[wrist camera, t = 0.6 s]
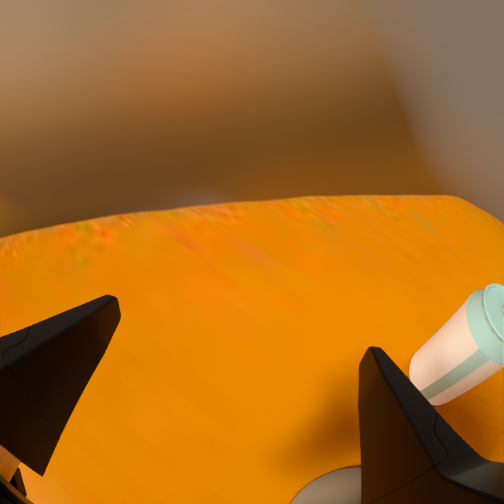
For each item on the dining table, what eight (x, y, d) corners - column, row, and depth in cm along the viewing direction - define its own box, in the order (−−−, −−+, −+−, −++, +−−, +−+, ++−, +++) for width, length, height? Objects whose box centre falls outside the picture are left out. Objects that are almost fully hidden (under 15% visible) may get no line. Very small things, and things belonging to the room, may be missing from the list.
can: (427, 336, 25) (489, 263, 16) (464, 374, 21) (535, 313, 12) (394, 377, 22) (468, 308, 13) (435, 420, 18) (523, 370, 9)
